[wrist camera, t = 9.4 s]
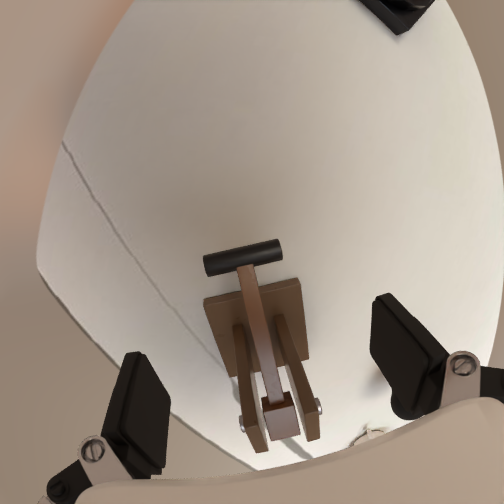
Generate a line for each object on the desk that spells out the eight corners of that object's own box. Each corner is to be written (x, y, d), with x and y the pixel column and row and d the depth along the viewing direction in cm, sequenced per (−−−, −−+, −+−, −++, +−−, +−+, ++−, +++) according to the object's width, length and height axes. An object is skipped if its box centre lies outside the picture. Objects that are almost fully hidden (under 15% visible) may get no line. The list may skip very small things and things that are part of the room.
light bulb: (405, 367, 35) (437, 414, 26) (371, 383, 35) (399, 435, 26) (408, 340, 33) (447, 390, 24) (371, 357, 33) (405, 413, 24)
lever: (205, 256, 20) (200, 255, 18) (275, 239, 20) (279, 237, 18) (251, 428, 20) (252, 445, 17) (312, 414, 20) (319, 429, 17)
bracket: (203, 298, 26) (200, 410, 15) (297, 277, 27) (349, 375, 15) (228, 370, 30) (238, 469, 19) (306, 352, 31) (343, 445, 19)
